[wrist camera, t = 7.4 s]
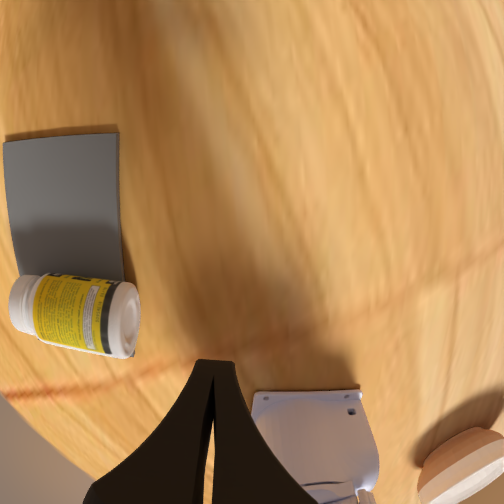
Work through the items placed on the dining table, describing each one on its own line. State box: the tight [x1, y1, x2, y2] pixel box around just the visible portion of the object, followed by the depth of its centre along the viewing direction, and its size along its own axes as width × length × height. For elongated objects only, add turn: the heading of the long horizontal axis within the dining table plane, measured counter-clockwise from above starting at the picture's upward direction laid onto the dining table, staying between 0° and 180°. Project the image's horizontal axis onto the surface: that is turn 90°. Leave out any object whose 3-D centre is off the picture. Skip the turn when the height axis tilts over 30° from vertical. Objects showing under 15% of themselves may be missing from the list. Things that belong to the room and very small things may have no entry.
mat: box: [3, 133, 135, 357], centre depth 19 cm, size 9×16×1 cm, turn 175°
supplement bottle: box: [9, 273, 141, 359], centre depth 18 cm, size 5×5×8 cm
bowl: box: [417, 427, 504, 504], centre depth 30 cm, size 16×16×8 cm
